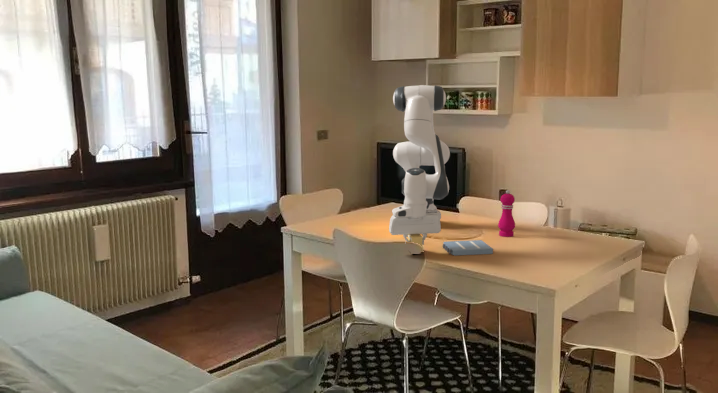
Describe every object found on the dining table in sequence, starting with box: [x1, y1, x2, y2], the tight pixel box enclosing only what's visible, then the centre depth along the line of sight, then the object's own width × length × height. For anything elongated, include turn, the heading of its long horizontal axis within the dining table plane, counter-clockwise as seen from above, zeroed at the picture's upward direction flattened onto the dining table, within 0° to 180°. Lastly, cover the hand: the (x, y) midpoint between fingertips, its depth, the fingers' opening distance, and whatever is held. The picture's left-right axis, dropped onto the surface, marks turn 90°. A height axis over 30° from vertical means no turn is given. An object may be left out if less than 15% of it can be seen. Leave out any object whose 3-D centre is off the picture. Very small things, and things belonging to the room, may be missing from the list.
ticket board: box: [442, 239, 494, 256], centre depth 264 cm, size 14×17×2 cm
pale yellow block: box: [407, 234, 423, 247], centre depth 261 cm, size 8×4×7 cm, turn 8°
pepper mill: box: [497, 189, 516, 238], centre depth 286 cm, size 7×7×20 cm
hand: (414, 244), depth 261 cm, fingers closed on pale yellow block, 4 cm apart
